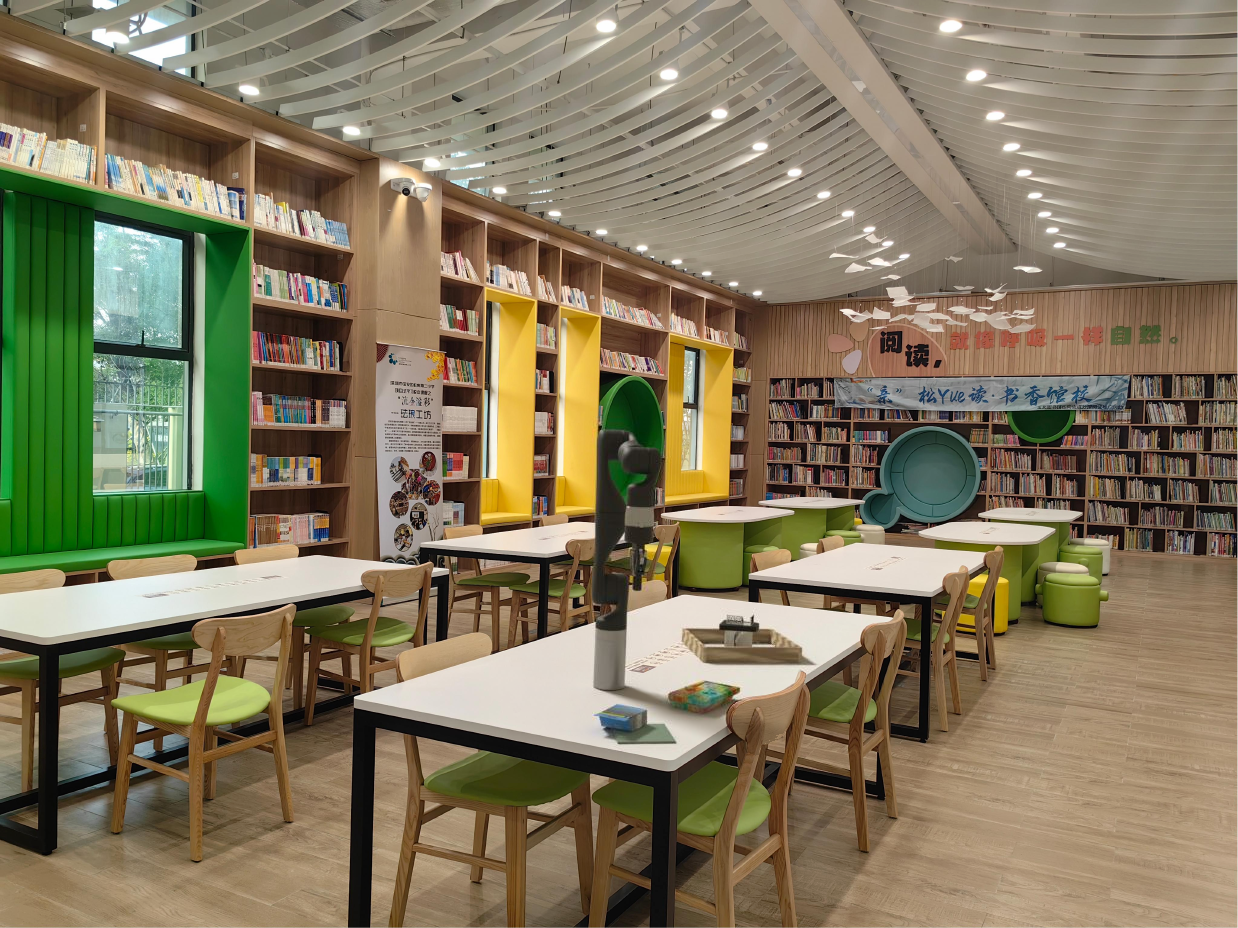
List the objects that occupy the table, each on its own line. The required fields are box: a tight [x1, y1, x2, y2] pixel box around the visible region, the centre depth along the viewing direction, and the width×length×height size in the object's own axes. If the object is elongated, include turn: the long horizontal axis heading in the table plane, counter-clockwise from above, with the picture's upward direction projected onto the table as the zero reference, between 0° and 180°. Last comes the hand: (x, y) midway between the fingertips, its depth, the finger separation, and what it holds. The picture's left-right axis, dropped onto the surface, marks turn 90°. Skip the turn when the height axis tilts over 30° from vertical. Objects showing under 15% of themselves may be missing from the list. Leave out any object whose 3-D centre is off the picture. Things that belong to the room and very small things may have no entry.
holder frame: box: [681, 627, 803, 663], centre depth 318 cm, size 32×34×5 cm
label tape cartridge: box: [593, 703, 648, 732], centre depth 224 cm, size 9×4×12 cm
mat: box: [610, 723, 677, 745], centre depth 220 cm, size 14×14×1 cm
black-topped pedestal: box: [718, 613, 760, 647], centre depth 319 cm, size 28×26×13 cm
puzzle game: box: [667, 679, 741, 714], centre depth 250 cm, size 12×5×20 cm
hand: (636, 590), depth 234 cm, fingers closed
